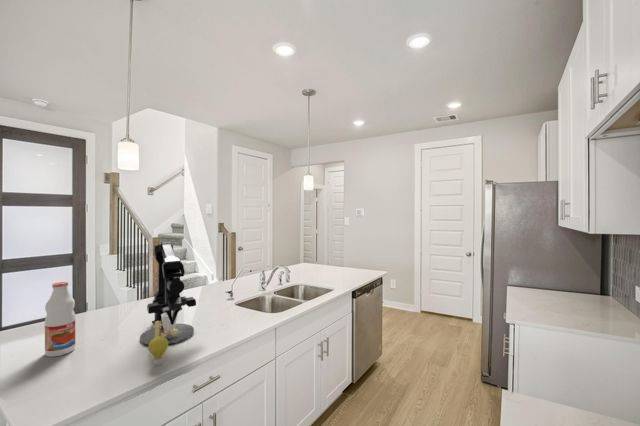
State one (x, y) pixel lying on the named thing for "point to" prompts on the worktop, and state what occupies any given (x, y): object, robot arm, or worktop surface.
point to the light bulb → (158, 349)
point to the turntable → (176, 336)
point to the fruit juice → (59, 322)
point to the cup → (168, 323)
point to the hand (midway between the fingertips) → (172, 324)
